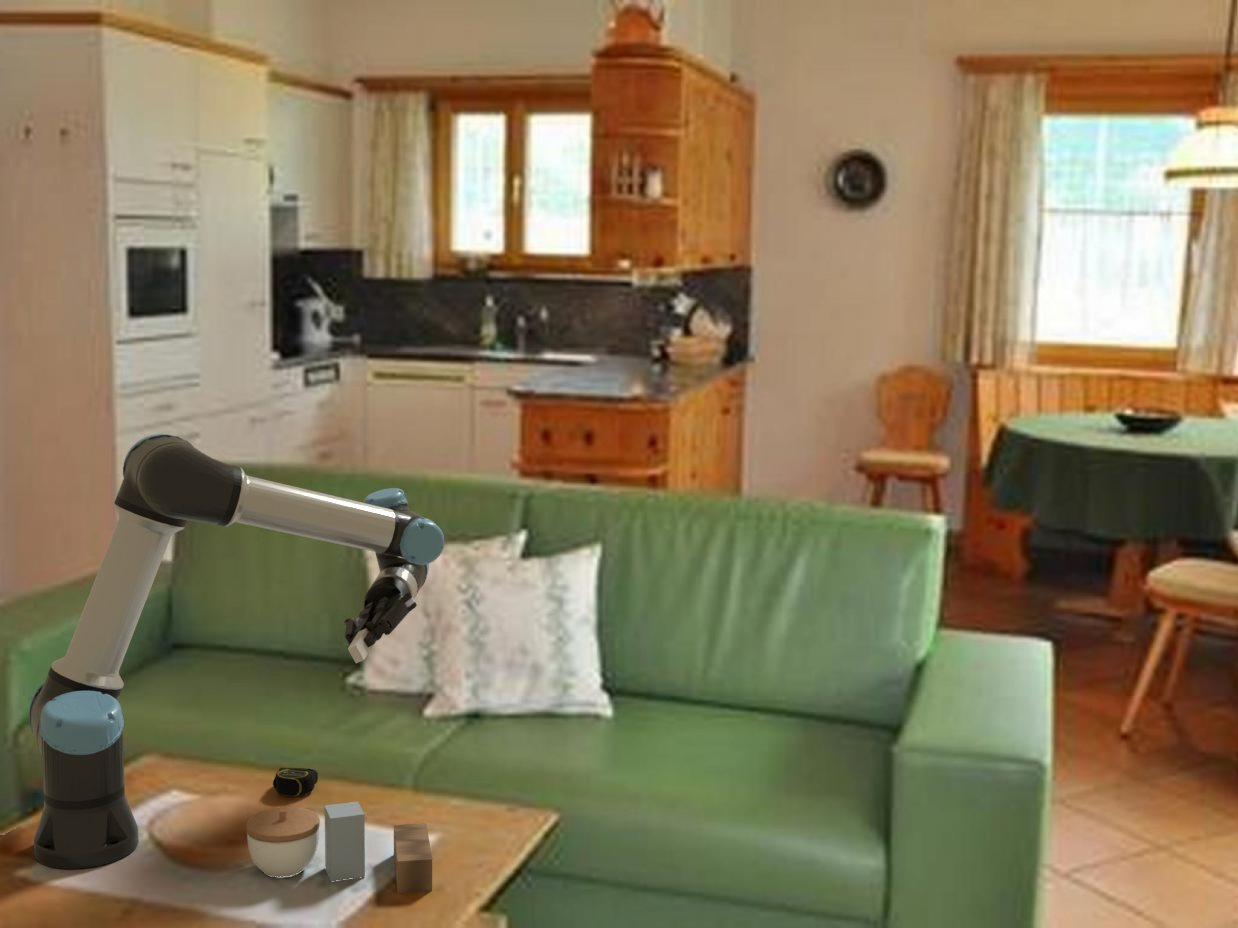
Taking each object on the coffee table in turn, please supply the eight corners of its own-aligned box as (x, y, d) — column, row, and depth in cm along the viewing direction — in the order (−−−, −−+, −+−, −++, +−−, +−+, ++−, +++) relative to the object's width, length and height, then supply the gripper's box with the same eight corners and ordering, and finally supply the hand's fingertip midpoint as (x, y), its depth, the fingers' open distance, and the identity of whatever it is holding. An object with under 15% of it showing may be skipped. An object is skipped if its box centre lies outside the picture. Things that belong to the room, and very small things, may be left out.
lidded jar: (302, 889, 206) (301, 828, 205) (234, 880, 208) (233, 820, 207) (331, 857, 216) (330, 800, 215) (266, 850, 219) (265, 793, 217)
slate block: (331, 882, 208) (330, 818, 207) (325, 867, 213) (324, 805, 211) (364, 877, 210) (364, 813, 209) (358, 863, 215) (357, 801, 213)
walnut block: (393, 854, 218) (397, 893, 206) (393, 824, 217) (397, 861, 205) (426, 852, 219) (432, 891, 207) (426, 822, 218) (432, 858, 206)
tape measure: (319, 786, 244) (319, 765, 244) (308, 801, 238) (308, 780, 237) (280, 784, 245) (280, 763, 244) (268, 799, 238) (268, 778, 237)
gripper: (434, 600, 240) (403, 659, 218) (368, 629, 243) (331, 689, 220) (413, 562, 239) (381, 618, 216) (347, 592, 241) (308, 649, 219)
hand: (356, 654), depth 218 cm, fingers closed
